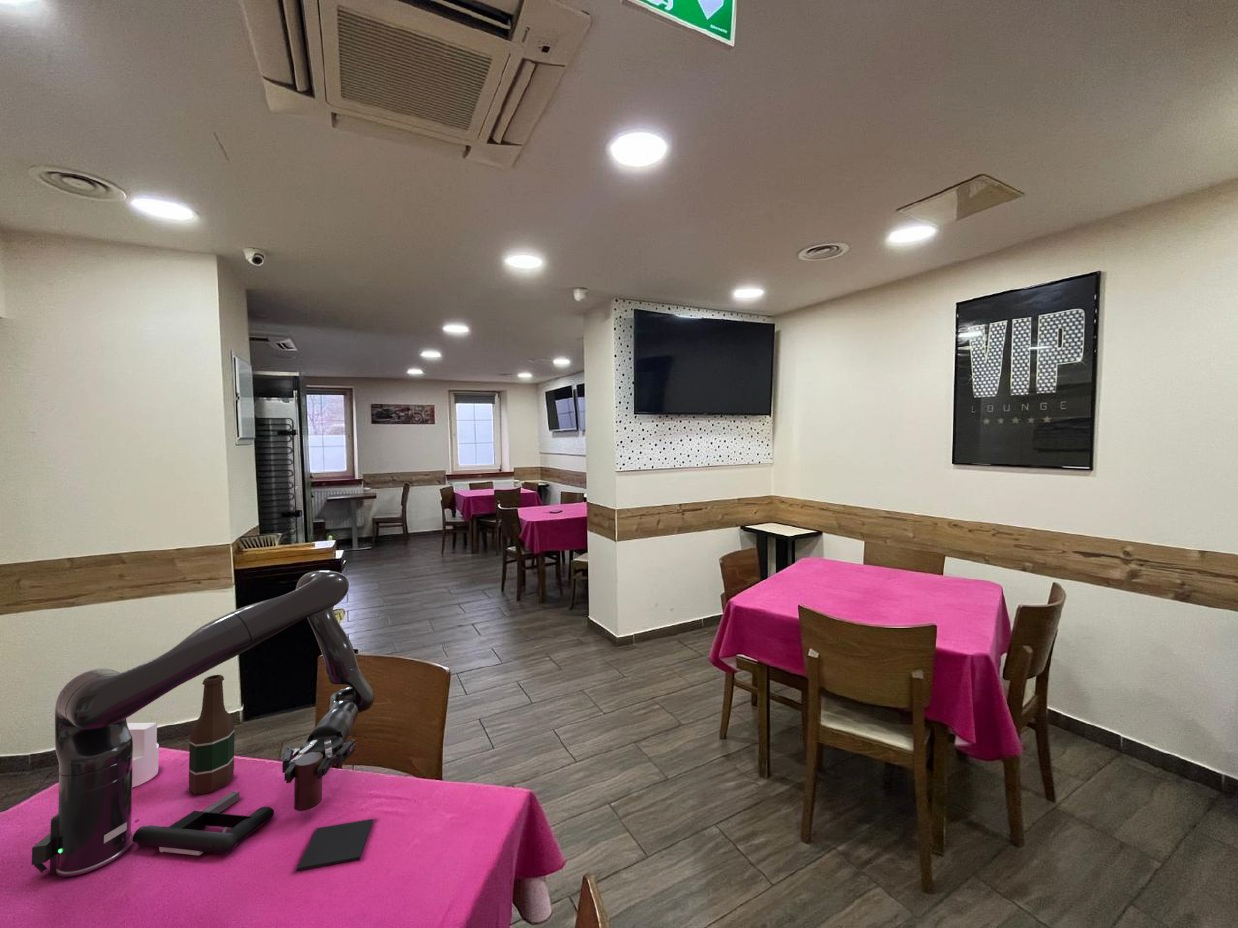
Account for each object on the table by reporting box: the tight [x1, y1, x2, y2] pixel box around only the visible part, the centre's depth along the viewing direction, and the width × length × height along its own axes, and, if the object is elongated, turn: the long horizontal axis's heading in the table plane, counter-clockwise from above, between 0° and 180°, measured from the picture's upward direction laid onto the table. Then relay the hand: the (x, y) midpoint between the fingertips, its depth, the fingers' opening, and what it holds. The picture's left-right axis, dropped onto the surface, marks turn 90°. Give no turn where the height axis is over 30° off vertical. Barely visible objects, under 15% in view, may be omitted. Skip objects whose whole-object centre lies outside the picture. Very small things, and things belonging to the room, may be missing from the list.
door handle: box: [132, 790, 275, 856], centre depth 96 cm, size 3×20×16 cm
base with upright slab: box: [127, 722, 160, 789], centre depth 111 cm, size 9×9×12 cm
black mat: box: [296, 818, 374, 871], centre depth 91 cm, size 10×10×1 cm
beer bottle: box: [188, 674, 235, 796], centre depth 109 cm, size 8×8×24 cm
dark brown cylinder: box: [293, 752, 323, 812], centre depth 99 cm, size 5×5×9 cm
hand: (304, 775), depth 97 cm, fingers closed on dark brown cylinder, 4 cm apart
